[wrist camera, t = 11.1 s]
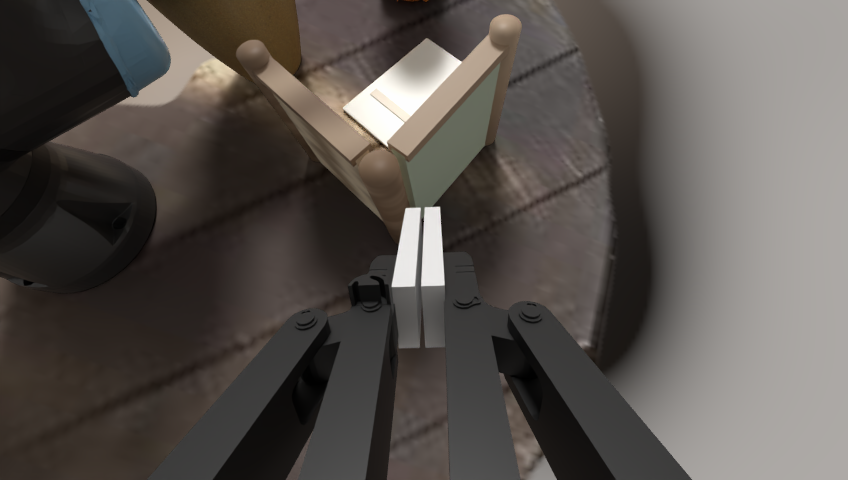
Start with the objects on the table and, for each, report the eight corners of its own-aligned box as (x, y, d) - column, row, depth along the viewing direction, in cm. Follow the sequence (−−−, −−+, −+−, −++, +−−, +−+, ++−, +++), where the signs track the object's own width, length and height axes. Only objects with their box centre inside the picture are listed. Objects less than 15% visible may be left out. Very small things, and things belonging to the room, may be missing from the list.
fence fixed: (304, 155, 37) (228, 54, 24) (321, 140, 37) (256, 33, 24) (403, 250, 33) (375, 190, 20) (421, 232, 33) (406, 162, 20)
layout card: (343, 110, 38) (342, 107, 38) (426, 40, 41) (426, 36, 40) (415, 171, 35) (414, 169, 35) (500, 92, 38) (501, 88, 37)
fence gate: (423, 224, 33) (408, 152, 20) (406, 212, 33) (382, 134, 21) (499, 135, 35) (527, 23, 23) (482, 125, 36) (501, 10, 24)
